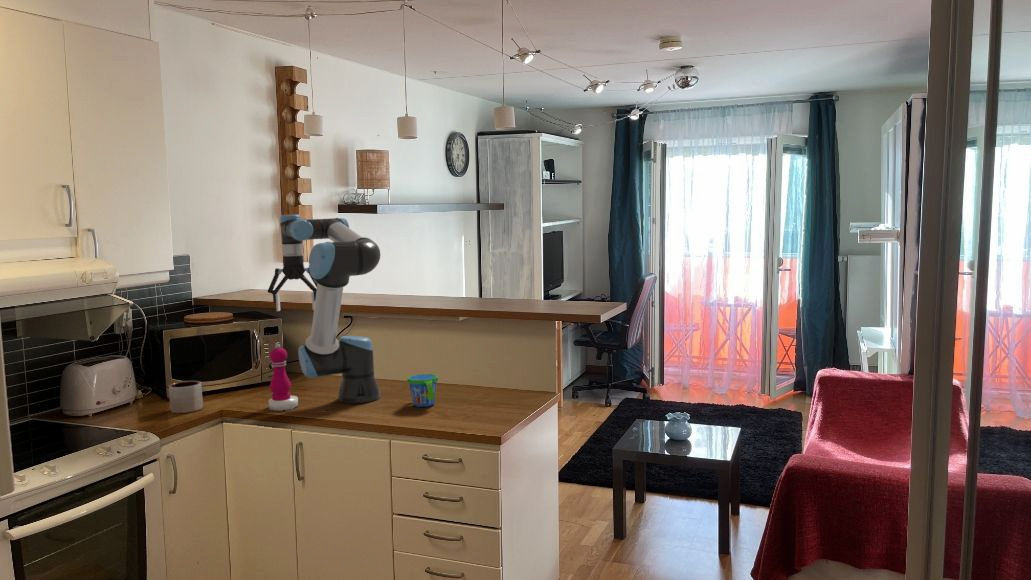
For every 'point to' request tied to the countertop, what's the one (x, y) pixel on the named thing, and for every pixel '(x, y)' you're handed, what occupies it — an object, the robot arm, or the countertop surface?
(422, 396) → the snack cup
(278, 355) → the pepper mill
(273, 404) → the ceramic stand
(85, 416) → the countertop surface
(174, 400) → the planter
